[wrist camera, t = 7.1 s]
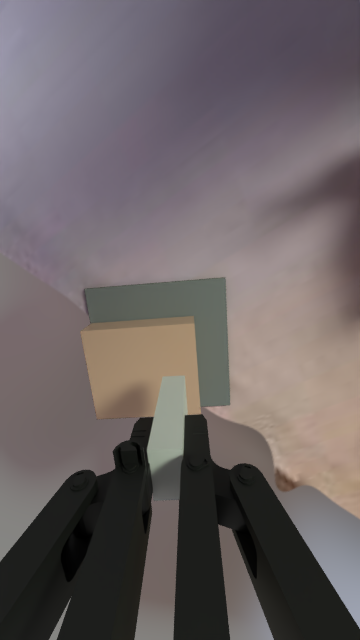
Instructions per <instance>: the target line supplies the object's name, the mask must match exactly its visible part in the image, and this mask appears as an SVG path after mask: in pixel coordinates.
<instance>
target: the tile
mask: <svg viewBox="0 0 360 640" xmlns="http://www.w3.org/2000/svg"><path fill="white" fill-rule="evenodd" d="M80 333H81V338H82V343H83V348H84V354H85V359H86V364H87V370H88V375H89V380H90V385H91V390H92V396H93V400H94V406H95V411H96V416H97V419H114V418H132V417H153V416H154V414H155V410H156V405H157V401H158V396H159V391H160V387H161V382H162V377H164V376H183V375H185V384H186V397H187V410H188V415H192V414H201V408H200V394H199V380H198V366H197V352H196V338H195V324H194V316H185V317H171V318H157V319H143V320H130V321H116V322H102V323H91V324H90V325H88V326H87V327H86V328H84V329H83V330H81V332H80Z"/></svg>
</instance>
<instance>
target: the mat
mask: <svg viewBox="0 0 360 640" xmlns="http://www.w3.org/2000/svg"><path fill="white" fill-rule="evenodd" d="M84 290H85V296H86V301H87V307H88V312H89V318H90V323H102V322H116V321H130V320H143V319H157V318H171V317H185V316H194V324H195V338H196V352H197V366H198V380H199V394H200V407H205V406H224V405H230V387H229V360H228V333H227V307H226V280H225V277H224V278H212V279H199V280H187V281H175V282H162V283H150V284H137V285H125V286H112V287H100V288H87V289H84Z"/></svg>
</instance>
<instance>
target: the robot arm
mask: <svg viewBox="0 0 360 640" xmlns="http://www.w3.org/2000/svg"><path fill="white" fill-rule="evenodd" d="M113 455H114V461H115V467H116V468H115V469H114V470H113V471H111V472H108V473H106V474H103V475H100V476H96V475H95V473H94V472H93V471H91V470H81V471H78V472H76V473H74V474H73V475H71V476H70V477H69V478H68V479H67V480H66V481H65V482H64V483H63V485H62V486H61V487H60V489H59V490H58V491H57V492H56V493H55V495H54V496H53V497H52V498H51V500H50V501H49V502H48V503H47V505H46V506H45V507H44V508H43V510H42V511H41V512H40V513H39V514H38V516H37V517H36V519H34V521H33V522H32V523H31V524H30V526H29V527H28V528H27V529H26V531H25V532H24V533H23V534H22V536H21V537H20V538H19V539H18V541H17V542H16V543H15V544H14V546H13V547H12V548H11V549H10V551H9V552H8V553H7V554H6V556H5V557H4V558H3V559H2V560H1V562H0V640H49V638H50V636H51V634H52V632H53V631H54V629H55V627H56V625H57V623H58V621H59V619H60V617H61V615H62V613H63V611H64V609H65V608H66V606H67V604H68V602H69V600H70V598H71V600H70V603H69V605H68V609H67V611H66V614H65V617H64V620H63V623H62V626H61V629H60V632H59V635H58V638H57V640H134V638H135V631H136V623H137V616H138V609H139V602H140V595H141V587H142V581H143V574H144V566H145V560H146V551H147V545H148V538H149V531H150V524H151V517H152V508H151V507H152V506H151V499H152V493H153V500H154V501H158V500H179V521H178V546H177V570H176V594H175V616H174V640H230V634H229V625H228V615H227V606H226V596H225V587H224V577H223V567H222V558H221V548H220V538H219V529H218V524H219V525H222V526H225V527H228V528H231V529H232V531H233V533H234V537H235V539H236V542H237V545H238V547H239V550H240V552H241V555H242V558H243V560H244V563H245V565H246V568H247V571H248V573H249V576H250V578H251V581H252V584H253V586H254V589H255V591H256V594H257V597H258V599H259V602H260V604H261V607H262V609H263V612H264V615H265V617H266V620H267V622H268V625H269V628H270V630H271V633H272V635H273V638H274V640H360V629H359V627H358V625H357V624H356V622H355V621H354V619H353V618H352V616H351V614H350V613H349V611H348V610H347V608H346V606H345V605H344V603H343V602H342V600H341V599H340V597H339V595H338V594H337V592H336V590H335V589H334V587H333V586H332V584H331V582H330V581H329V579H328V578H327V576H326V574H325V573H324V571H323V570H322V568H321V567H320V565H319V563H318V562H317V560H316V559H315V557H314V555H313V554H312V552H311V551H310V549H309V547H308V546H307V544H306V543H305V541H304V540H303V538H302V536H301V535H300V533H299V531H298V530H297V528H296V527H295V525H294V524H293V522H292V520H291V519H290V517H289V516H288V514H287V512H286V511H285V509H284V508H283V506H282V504H281V503H280V501H279V500H278V498H277V497H276V495H275V493H274V492H273V490H272V489H271V487H270V486H269V484H268V482H267V481H266V479H265V478H264V476H263V474H262V473H261V472H260V471H259V470H258V468H256V467H255V466H253V465H250V464H246V463H244V464H238V465H236V466H234V467H233V468H232V469H231V470H228V469H225V468H222V467H219V466H218V465H216V464H215V463H214V462H213V461H212V459H211V456H210V448H209V438H208V429H207V420H206V419H205V418H204V416H203V415H202V414H198V415H188V410H187V397H186V384H185V375H183V376H164V377H162V382H161V387H160V391H159V396H158V401H157V405H156V410H155V414H154V417H146V418H140V419H139V420H138V421H137V422H136V423H135V424H134V428H133V431H132V434H131V438H130V440H128V441H124V442H122V443H120V444H119V445H118V446H116V447H115V449H114V451H113ZM71 596H72V597H71Z"/></svg>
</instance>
